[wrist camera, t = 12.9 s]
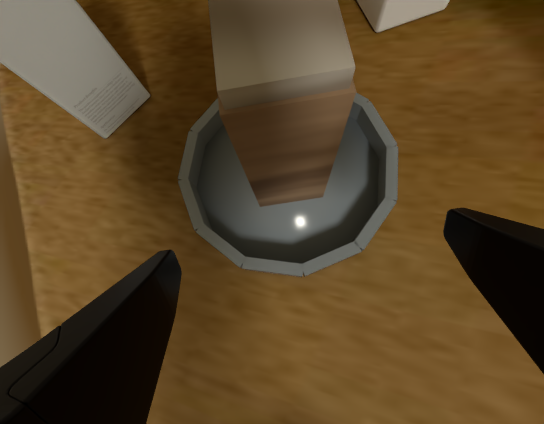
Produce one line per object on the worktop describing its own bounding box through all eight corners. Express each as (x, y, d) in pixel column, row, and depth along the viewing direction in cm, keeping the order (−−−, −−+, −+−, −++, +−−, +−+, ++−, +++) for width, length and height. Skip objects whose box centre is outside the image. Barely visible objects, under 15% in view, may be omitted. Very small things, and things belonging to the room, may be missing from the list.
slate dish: (425, 224, 21) (442, 216, 18) (230, 308, 20) (221, 311, 18) (332, 68, 25) (336, 45, 23) (170, 135, 25) (156, 118, 22)
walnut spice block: (323, 197, 21) (362, 70, 9) (259, 207, 22) (211, 97, 9) (311, 140, 23) (332, -39, 10) (252, 150, 23) (201, -13, 10)
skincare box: (125, 75, 27) (-5, -87, 15) (154, 98, 26) (39, -56, 14) (78, 118, 26) (-99, -18, 14) (107, 144, 25) (-59, 20, 13)
